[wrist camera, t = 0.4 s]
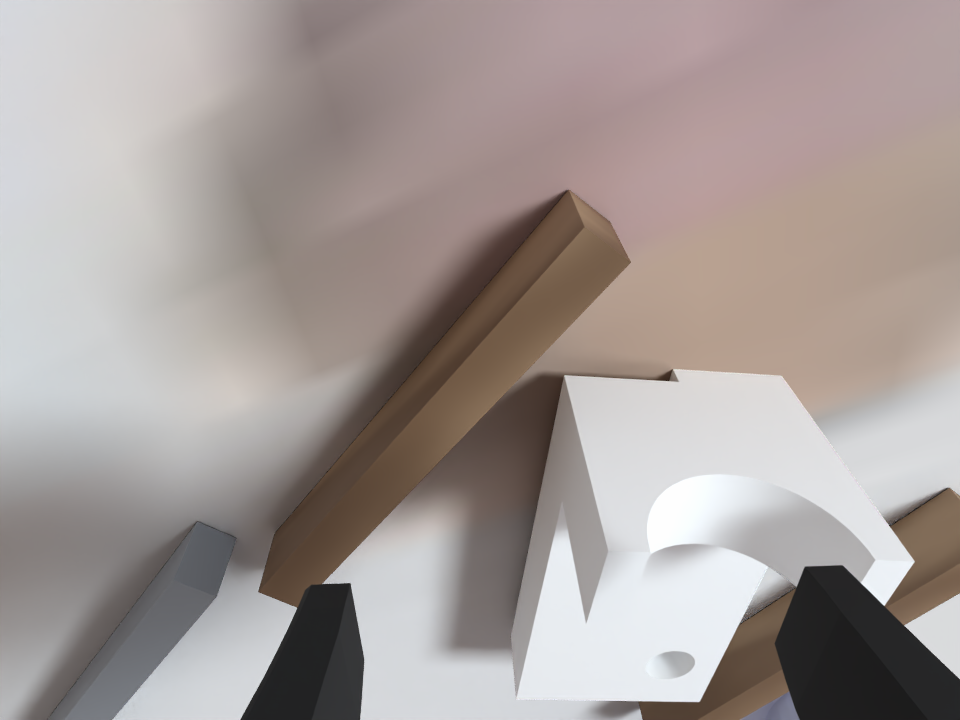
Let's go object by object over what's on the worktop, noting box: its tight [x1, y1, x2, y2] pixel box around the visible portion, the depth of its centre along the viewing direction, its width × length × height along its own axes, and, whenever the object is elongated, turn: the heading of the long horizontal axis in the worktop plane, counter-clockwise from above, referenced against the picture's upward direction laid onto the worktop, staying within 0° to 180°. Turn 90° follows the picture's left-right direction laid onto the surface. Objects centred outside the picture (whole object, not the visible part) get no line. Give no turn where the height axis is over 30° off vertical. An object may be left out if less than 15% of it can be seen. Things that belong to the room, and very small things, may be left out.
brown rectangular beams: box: [258, 190, 960, 720], centre depth 23 cm, size 20×16×2 cm
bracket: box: [511, 369, 915, 702], centre depth 22 cm, size 13×7×8 cm, turn 174°
